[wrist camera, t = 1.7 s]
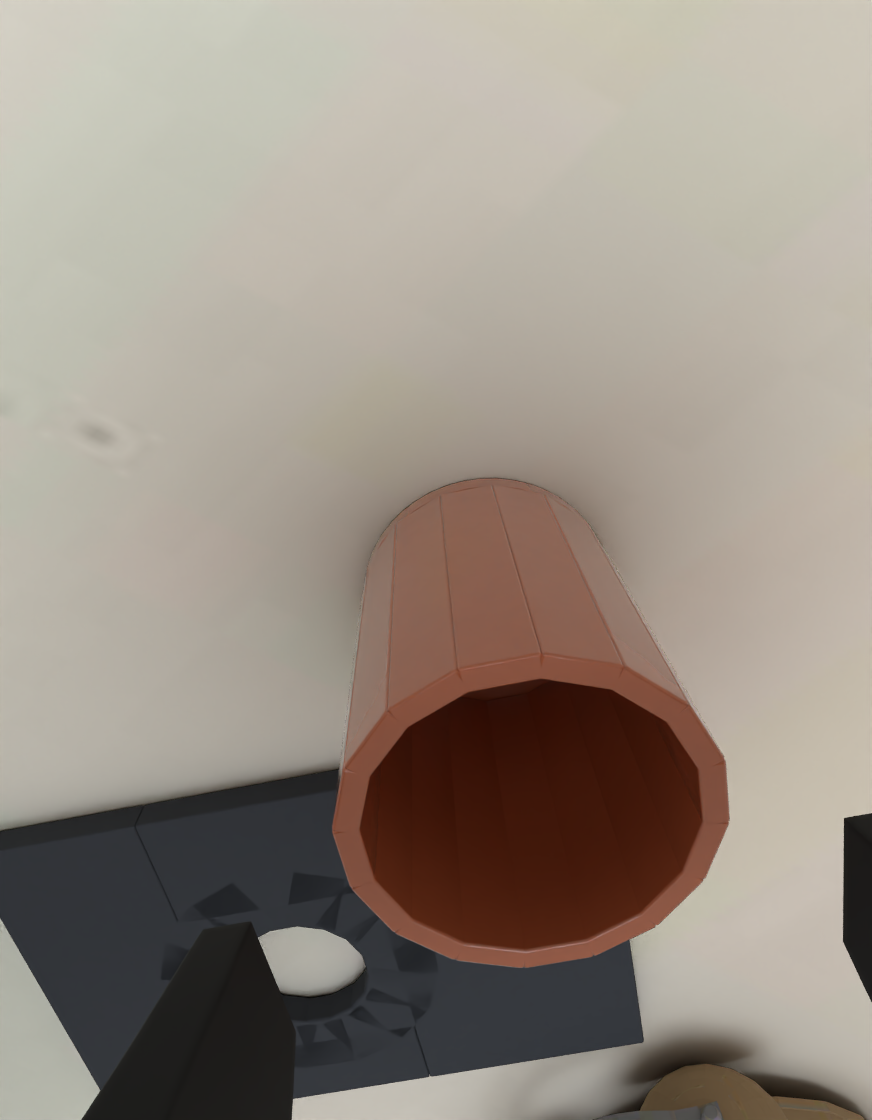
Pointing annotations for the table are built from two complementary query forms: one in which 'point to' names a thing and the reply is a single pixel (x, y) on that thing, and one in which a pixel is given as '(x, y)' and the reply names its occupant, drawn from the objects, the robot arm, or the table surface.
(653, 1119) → the alarm clock
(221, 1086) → the robot arm
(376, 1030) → the drain mat
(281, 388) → the table surface
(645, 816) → the cup
